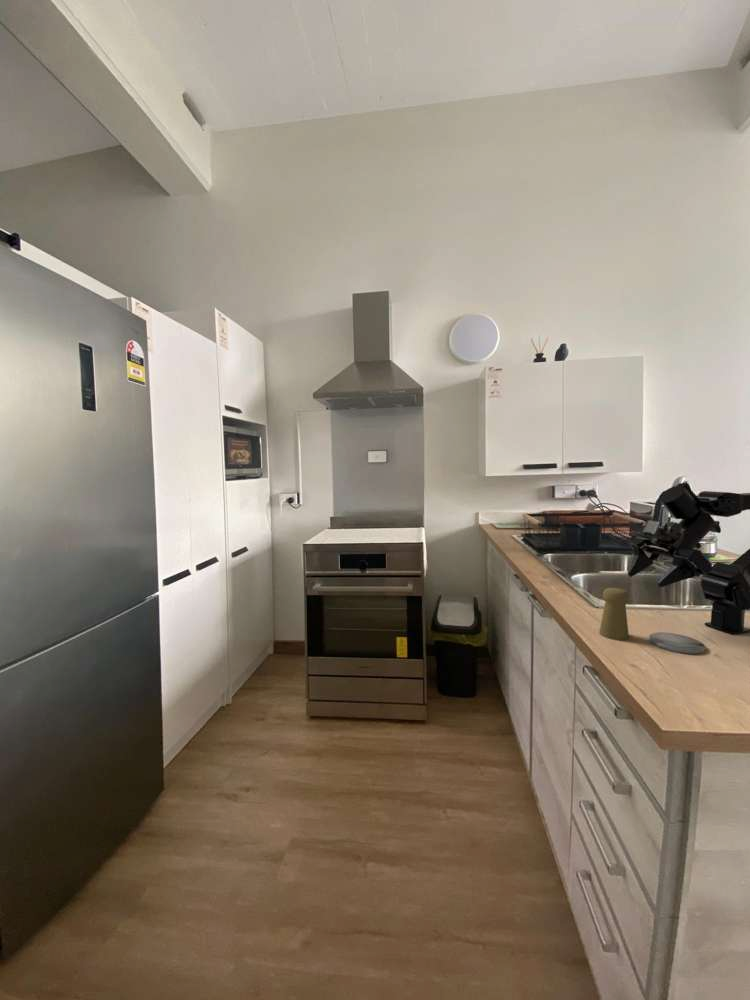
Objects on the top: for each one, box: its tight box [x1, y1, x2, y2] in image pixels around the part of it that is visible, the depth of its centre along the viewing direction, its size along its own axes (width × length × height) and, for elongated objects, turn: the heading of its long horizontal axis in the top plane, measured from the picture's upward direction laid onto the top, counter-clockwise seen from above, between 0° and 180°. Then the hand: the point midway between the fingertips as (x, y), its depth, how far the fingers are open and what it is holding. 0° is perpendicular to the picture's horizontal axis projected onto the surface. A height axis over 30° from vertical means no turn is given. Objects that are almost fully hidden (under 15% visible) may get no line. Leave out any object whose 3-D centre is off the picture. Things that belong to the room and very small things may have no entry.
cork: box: [598, 587, 630, 641], centre depth 99 cm, size 6×6×11 cm
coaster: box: [648, 631, 706, 655], centre depth 94 cm, size 10×10×1 cm
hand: (643, 580), depth 99 cm, fingers open, 9 cm apart
